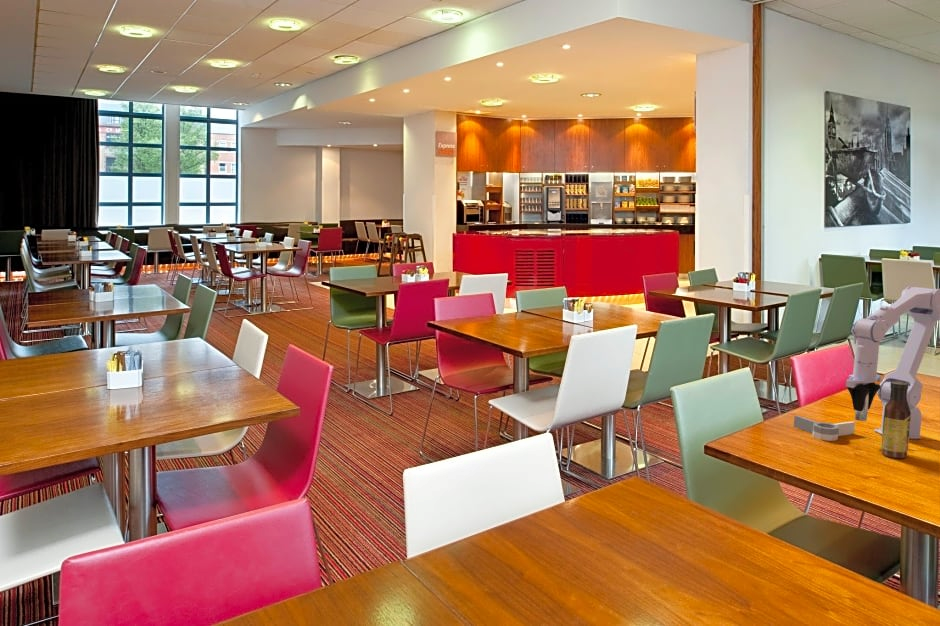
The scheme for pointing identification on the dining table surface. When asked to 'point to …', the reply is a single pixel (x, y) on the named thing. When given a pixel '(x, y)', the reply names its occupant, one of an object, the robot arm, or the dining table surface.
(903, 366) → the robot arm
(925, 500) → the dining table surface
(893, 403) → the sauce bottle
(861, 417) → the hinge pin
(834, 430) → the hinge
